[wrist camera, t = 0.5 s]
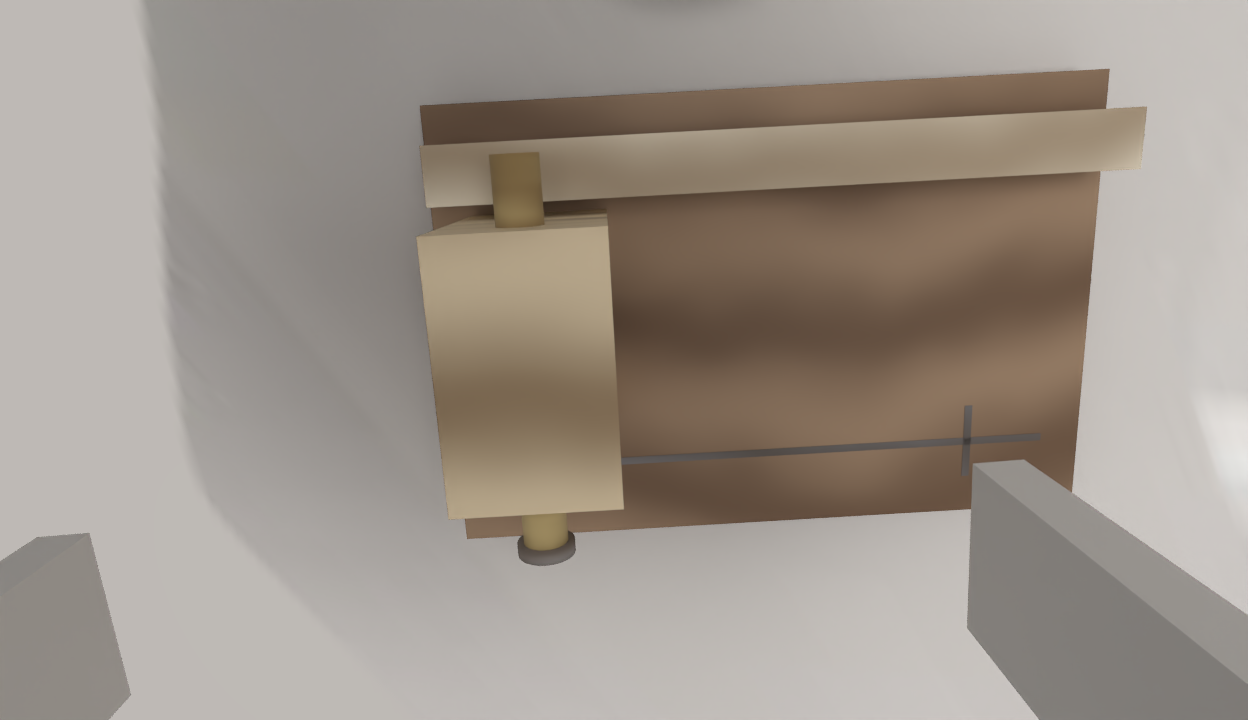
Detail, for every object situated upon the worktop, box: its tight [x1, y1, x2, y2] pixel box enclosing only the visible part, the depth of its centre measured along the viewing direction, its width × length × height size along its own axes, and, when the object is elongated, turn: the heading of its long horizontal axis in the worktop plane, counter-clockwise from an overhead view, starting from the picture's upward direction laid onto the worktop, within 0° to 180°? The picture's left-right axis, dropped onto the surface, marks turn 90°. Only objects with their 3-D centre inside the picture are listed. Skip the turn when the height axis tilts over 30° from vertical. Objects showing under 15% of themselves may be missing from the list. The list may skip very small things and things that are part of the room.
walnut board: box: [419, 69, 1147, 539], centre depth 30 cm, size 17×25×5 cm
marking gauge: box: [416, 152, 624, 566], centre depth 26 cm, size 12×5×9 cm, turn 3°
